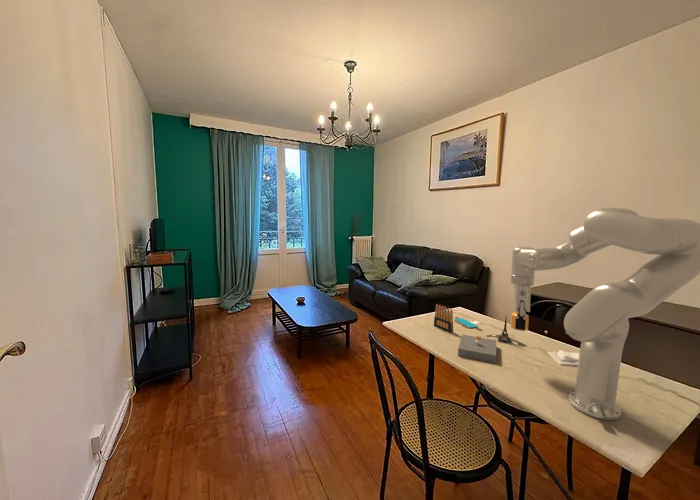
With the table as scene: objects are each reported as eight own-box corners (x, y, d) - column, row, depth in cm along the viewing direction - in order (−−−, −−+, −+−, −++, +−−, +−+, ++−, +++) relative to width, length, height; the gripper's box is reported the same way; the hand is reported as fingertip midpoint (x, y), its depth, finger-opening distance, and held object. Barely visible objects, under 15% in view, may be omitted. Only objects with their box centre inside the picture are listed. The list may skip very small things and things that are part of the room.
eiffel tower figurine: (528, 347, 136) (530, 317, 134) (510, 350, 132) (512, 320, 131) (501, 334, 150) (503, 307, 148) (484, 337, 146) (486, 309, 145)
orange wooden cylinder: (528, 331, 114) (529, 317, 113) (511, 329, 116) (512, 315, 116) (527, 326, 119) (527, 313, 118) (510, 324, 121) (511, 311, 121)
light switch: (547, 345, 129) (581, 346, 127) (546, 355, 130) (581, 356, 127) (559, 358, 119) (597, 359, 116) (559, 368, 119) (596, 369, 117)
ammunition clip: (433, 326, 158) (434, 303, 157) (436, 325, 160) (437, 302, 158) (450, 332, 150) (451, 309, 148) (453, 332, 151) (454, 308, 149)
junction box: (495, 362, 120) (496, 346, 119) (457, 355, 126) (458, 340, 125) (495, 346, 135) (496, 332, 134) (461, 340, 140) (462, 326, 140)
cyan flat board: (492, 330, 155) (492, 327, 155) (472, 333, 151) (472, 329, 151) (465, 317, 174) (465, 314, 173) (447, 319, 170) (447, 316, 170)
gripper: (536, 285, 106) (533, 336, 108) (531, 276, 122) (528, 321, 124) (512, 283, 110) (509, 332, 111) (510, 275, 125) (507, 318, 127)
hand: (519, 326), depth 118 cm, fingers closed on orange wooden cylinder, 5 cm apart
